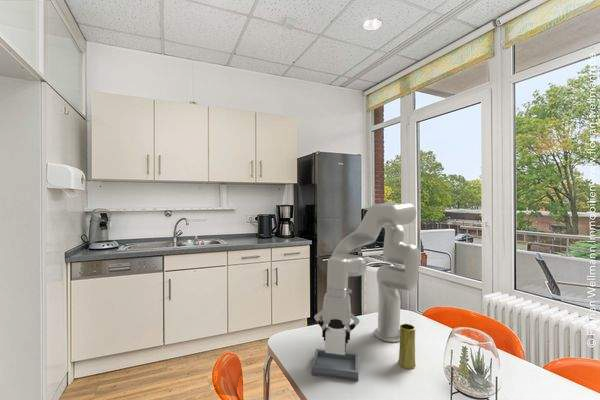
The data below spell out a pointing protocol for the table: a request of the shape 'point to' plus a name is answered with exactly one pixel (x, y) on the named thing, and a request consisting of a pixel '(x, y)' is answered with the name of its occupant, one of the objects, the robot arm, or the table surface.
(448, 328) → the table surface
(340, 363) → the tray
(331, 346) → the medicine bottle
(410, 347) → the vase
